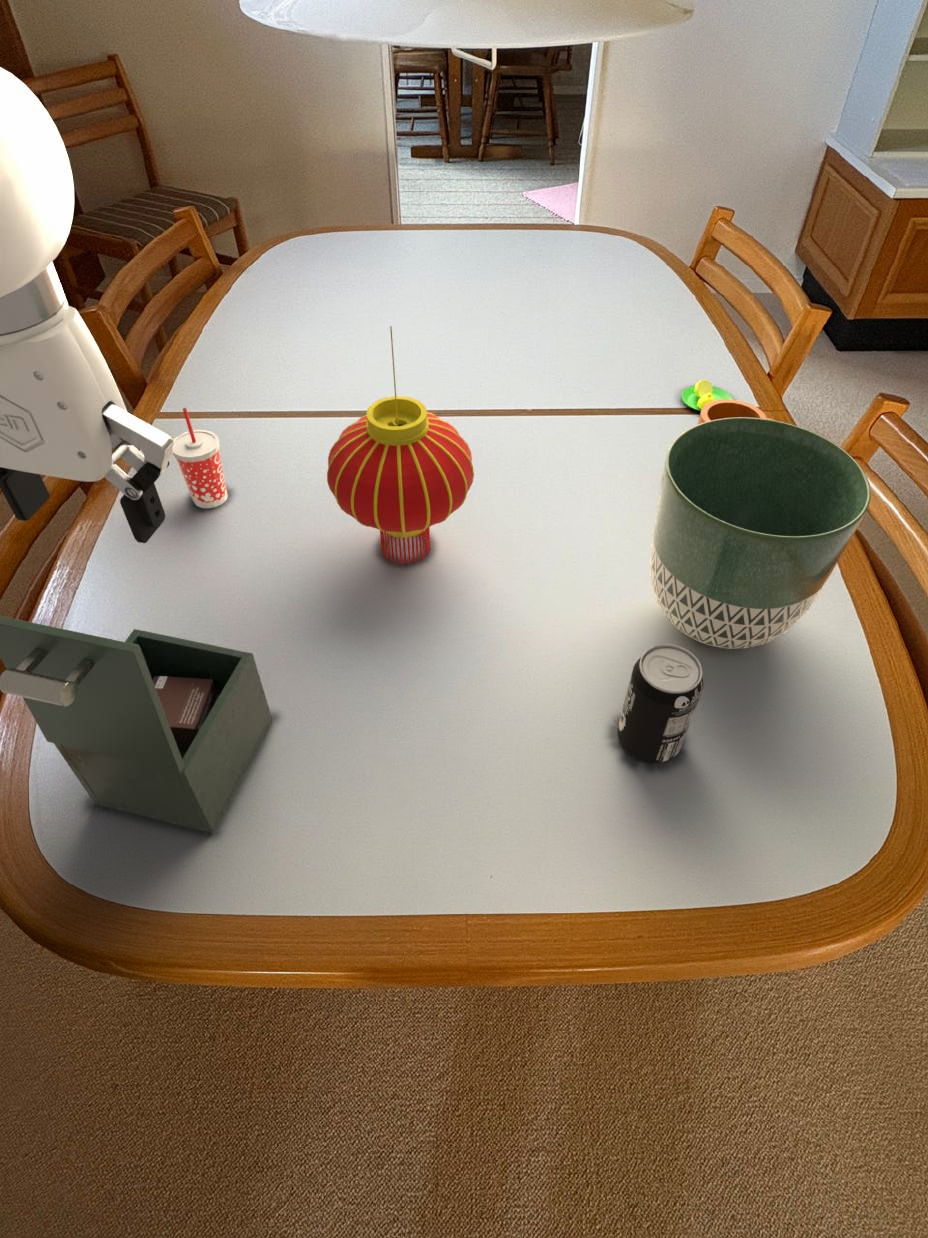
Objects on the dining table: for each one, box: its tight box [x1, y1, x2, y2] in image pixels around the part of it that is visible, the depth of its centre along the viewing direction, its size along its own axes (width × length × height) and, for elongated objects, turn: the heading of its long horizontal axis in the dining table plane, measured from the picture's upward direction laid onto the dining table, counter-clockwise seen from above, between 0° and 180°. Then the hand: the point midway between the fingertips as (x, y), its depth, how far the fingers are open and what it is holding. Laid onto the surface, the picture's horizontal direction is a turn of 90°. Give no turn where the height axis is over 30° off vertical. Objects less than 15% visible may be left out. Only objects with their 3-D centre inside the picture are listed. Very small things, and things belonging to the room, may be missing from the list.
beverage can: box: [616, 643, 705, 765], centre depth 77 cm, size 7×7×12 cm
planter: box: [649, 417, 872, 650], centre depth 85 cm, size 20×20×21 cm
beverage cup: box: [171, 407, 228, 509], centre depth 103 cm, size 6×6×14 cm
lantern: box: [326, 325, 475, 565], centre depth 90 cm, size 17×17×30 cm
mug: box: [697, 399, 776, 425], centre depth 109 cm, size 9×12×9 cm
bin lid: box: [0, 615, 184, 773], centre depth 60 cm, size 14×13×5 cm
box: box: [153, 676, 219, 759], centre depth 77 cm, size 6×6×7 cm
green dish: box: [681, 379, 734, 412], centre depth 124 cm, size 8×8×3 cm
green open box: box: [53, 628, 273, 834], centre depth 75 cm, size 14×13×11 cm
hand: (92, 519), depth 58 cm, fingers open, 9 cm apart
